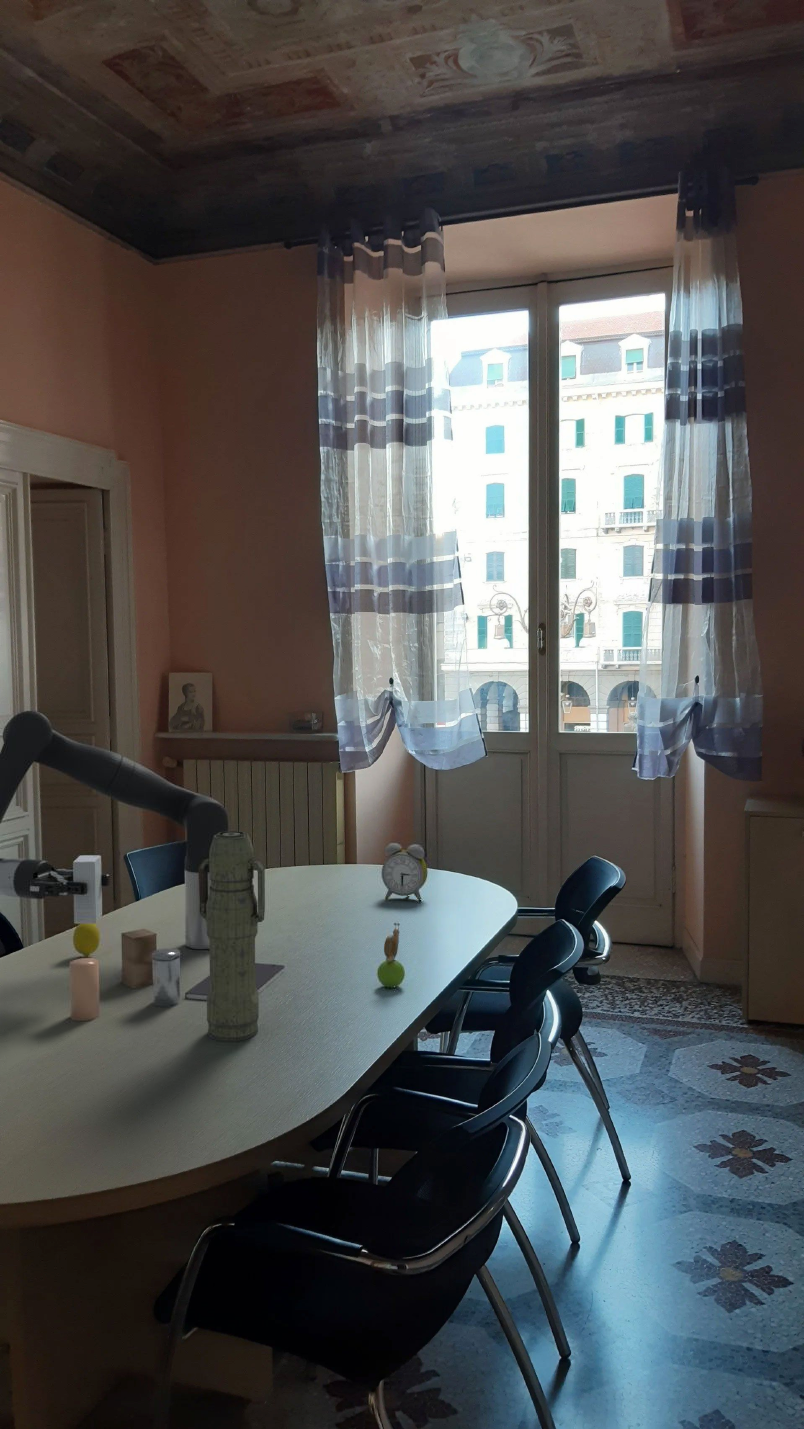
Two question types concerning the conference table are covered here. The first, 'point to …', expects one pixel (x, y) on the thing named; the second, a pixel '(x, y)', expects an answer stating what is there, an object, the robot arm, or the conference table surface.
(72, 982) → the peach rounded cylinder
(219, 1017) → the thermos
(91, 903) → the skincare box
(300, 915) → the conference table surface
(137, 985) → the walnut block
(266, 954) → the conference table surface
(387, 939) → the snail figurine
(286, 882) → the conference table surface
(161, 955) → the grey tin
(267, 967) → the notebook
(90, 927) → the lemon
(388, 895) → the alarm clock
